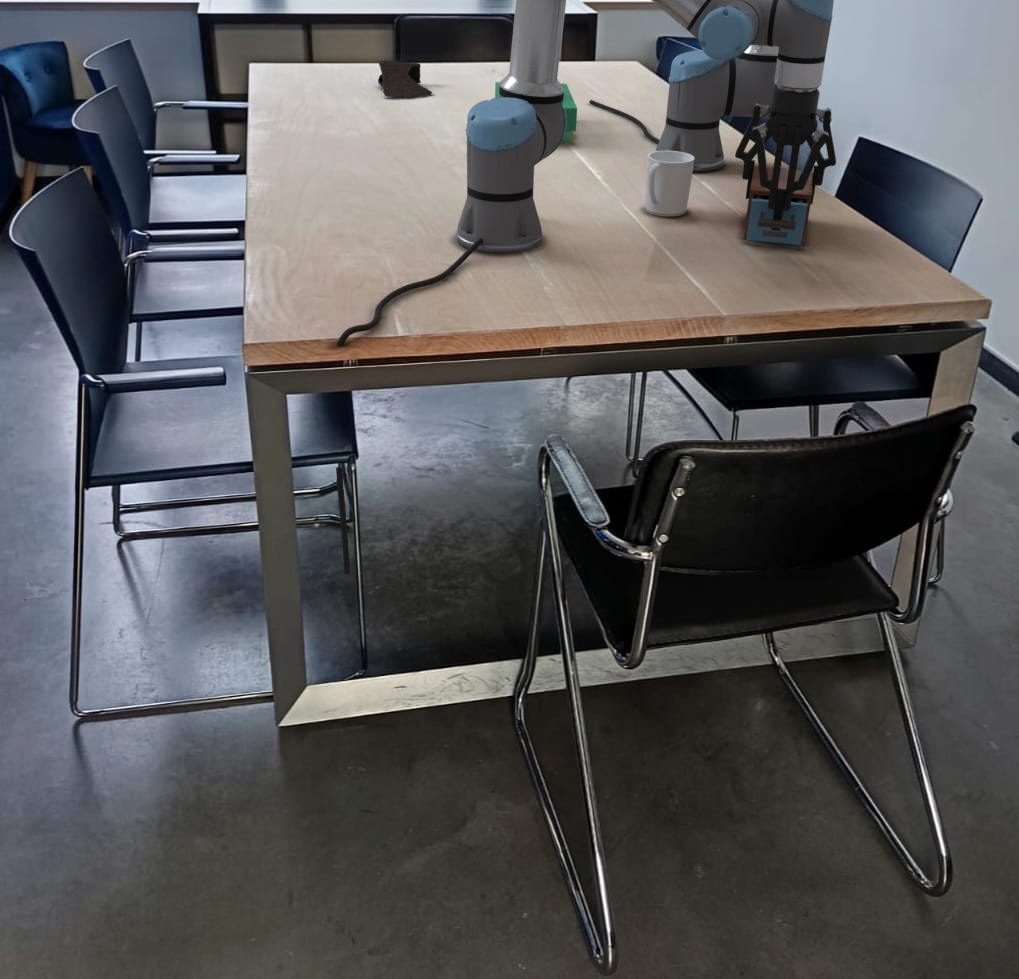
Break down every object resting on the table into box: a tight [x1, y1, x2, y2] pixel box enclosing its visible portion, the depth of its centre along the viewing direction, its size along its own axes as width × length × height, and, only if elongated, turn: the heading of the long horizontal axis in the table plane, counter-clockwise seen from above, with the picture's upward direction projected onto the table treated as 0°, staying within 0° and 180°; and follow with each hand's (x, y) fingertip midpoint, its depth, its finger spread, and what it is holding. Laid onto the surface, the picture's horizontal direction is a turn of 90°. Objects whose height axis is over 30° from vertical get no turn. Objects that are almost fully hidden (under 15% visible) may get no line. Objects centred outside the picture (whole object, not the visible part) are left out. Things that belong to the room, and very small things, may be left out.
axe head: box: [377, 59, 433, 99], centre depth 299 cm, size 18×8×15 cm
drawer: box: [745, 195, 807, 246], centre depth 197 cm, size 19×10×7 cm, turn 166°
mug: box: [644, 150, 694, 218], centre depth 209 cm, size 11×9×10 cm
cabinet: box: [742, 165, 813, 245], centre depth 202 cm, size 15×11×9 cm
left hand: (776, 227), depth 191 cm, fingers closed
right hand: (779, 199), depth 206 cm, fingers closed on cabinet, 11 cm apart
